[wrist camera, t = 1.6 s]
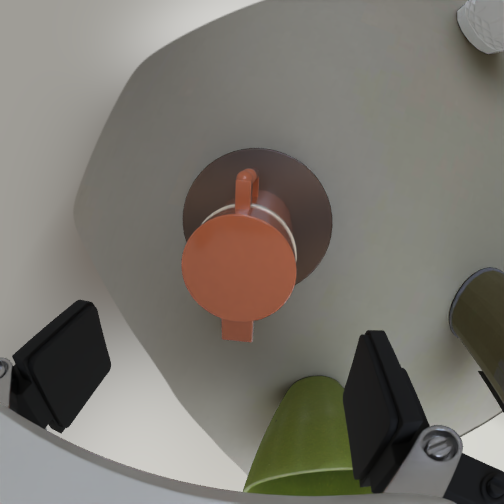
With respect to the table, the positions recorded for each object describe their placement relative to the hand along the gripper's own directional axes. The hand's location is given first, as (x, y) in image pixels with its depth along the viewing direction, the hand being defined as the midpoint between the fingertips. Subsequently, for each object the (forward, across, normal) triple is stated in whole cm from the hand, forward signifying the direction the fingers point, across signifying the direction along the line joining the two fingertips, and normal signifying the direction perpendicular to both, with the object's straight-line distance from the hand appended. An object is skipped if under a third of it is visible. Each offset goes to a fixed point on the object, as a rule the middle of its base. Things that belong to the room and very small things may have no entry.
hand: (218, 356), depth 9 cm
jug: (+18, +1, 0) cm, 19 cm away
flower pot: (+20, -8, +22) cm, 31 cm away
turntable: (+20, +1, 0) cm, 20 cm away
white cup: (+20, -24, -26) cm, 41 cm away
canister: (+20, -28, +8) cm, 36 cm away
